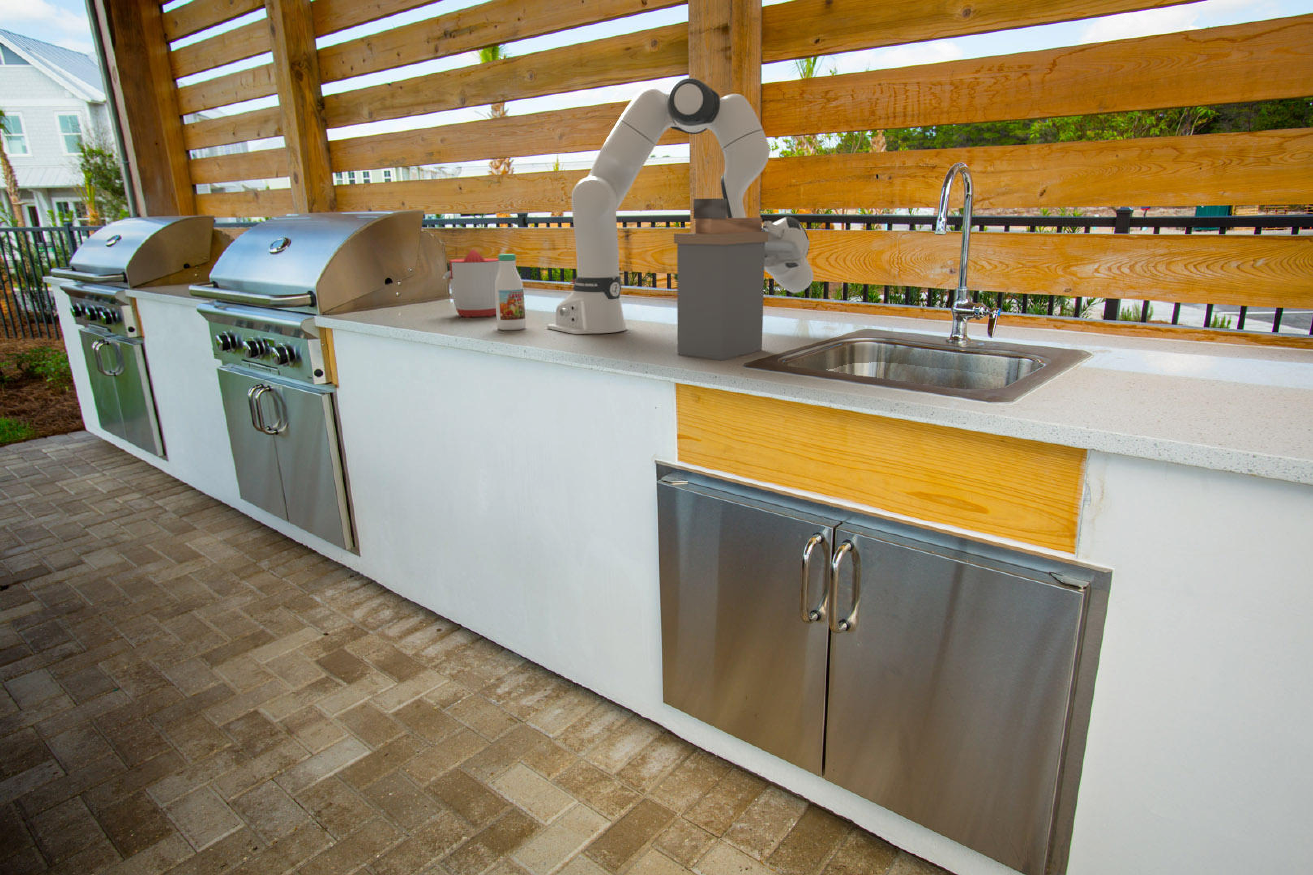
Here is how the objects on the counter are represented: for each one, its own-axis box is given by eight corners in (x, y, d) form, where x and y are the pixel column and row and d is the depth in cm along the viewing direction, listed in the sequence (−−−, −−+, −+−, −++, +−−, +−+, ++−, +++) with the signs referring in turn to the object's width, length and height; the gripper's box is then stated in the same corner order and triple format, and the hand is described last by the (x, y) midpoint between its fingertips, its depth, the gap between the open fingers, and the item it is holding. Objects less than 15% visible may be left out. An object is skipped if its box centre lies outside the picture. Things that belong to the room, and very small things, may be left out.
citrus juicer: (445, 313, 243) (439, 249, 237) (500, 311, 248) (496, 247, 242) (447, 320, 228) (441, 251, 223) (506, 317, 233) (502, 250, 228)
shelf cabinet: (674, 354, 170) (674, 233, 163) (717, 344, 183) (719, 231, 175) (722, 361, 162) (724, 234, 155) (764, 349, 175) (768, 232, 167)
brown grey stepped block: (693, 233, 161) (693, 199, 159) (744, 231, 176) (745, 199, 174) (712, 234, 158) (713, 198, 156) (763, 231, 173) (764, 199, 171)
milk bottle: (491, 330, 208) (486, 254, 203) (507, 326, 215) (502, 253, 210) (516, 331, 206) (511, 255, 200) (531, 327, 212) (526, 253, 207)
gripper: (741, 240, 190) (714, 211, 179) (816, 241, 177) (791, 210, 166) (734, 263, 189) (706, 236, 178) (808, 266, 177) (783, 237, 166)
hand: (748, 223), depth 172 cm, fingers open, 8 cm apart
